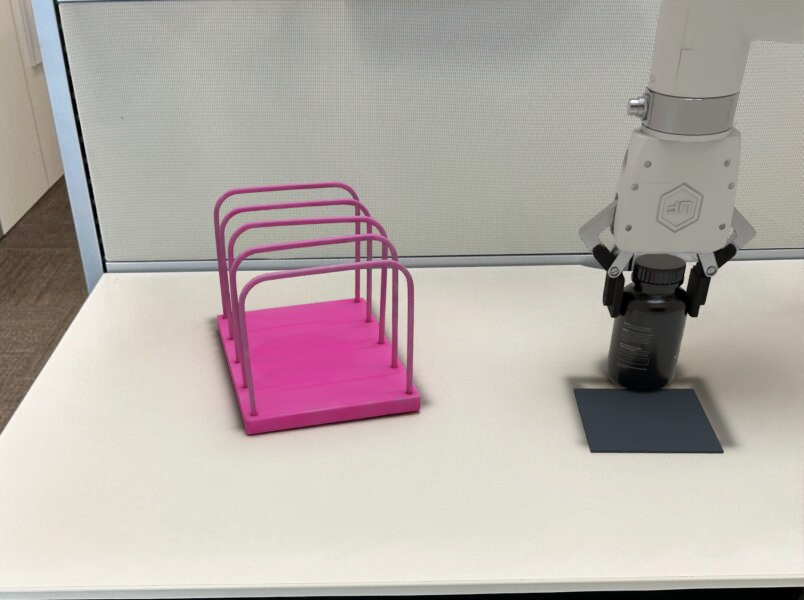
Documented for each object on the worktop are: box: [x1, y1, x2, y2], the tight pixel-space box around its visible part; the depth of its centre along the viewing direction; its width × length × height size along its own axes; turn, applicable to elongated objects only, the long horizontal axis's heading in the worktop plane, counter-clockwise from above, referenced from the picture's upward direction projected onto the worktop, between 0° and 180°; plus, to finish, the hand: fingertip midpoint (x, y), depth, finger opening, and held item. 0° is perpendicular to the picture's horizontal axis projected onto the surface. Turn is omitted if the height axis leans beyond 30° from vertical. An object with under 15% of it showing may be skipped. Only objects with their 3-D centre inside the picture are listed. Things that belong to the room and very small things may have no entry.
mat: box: [573, 387, 725, 454], centre depth 89 cm, size 12×12×1 cm
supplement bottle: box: [605, 254, 690, 391], centre depth 92 cm, size 7×7×12 cm
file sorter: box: [213, 180, 421, 435], centre depth 94 cm, size 17×25×16 cm
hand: (651, 310), depth 91 cm, fingers closed on supplement bottle, 6 cm apart
